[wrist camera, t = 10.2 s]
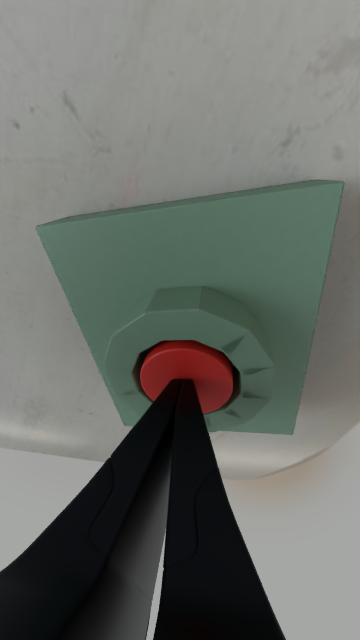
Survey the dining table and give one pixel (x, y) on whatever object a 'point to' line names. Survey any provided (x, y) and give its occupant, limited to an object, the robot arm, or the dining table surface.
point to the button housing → (204, 291)
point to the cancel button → (189, 371)
